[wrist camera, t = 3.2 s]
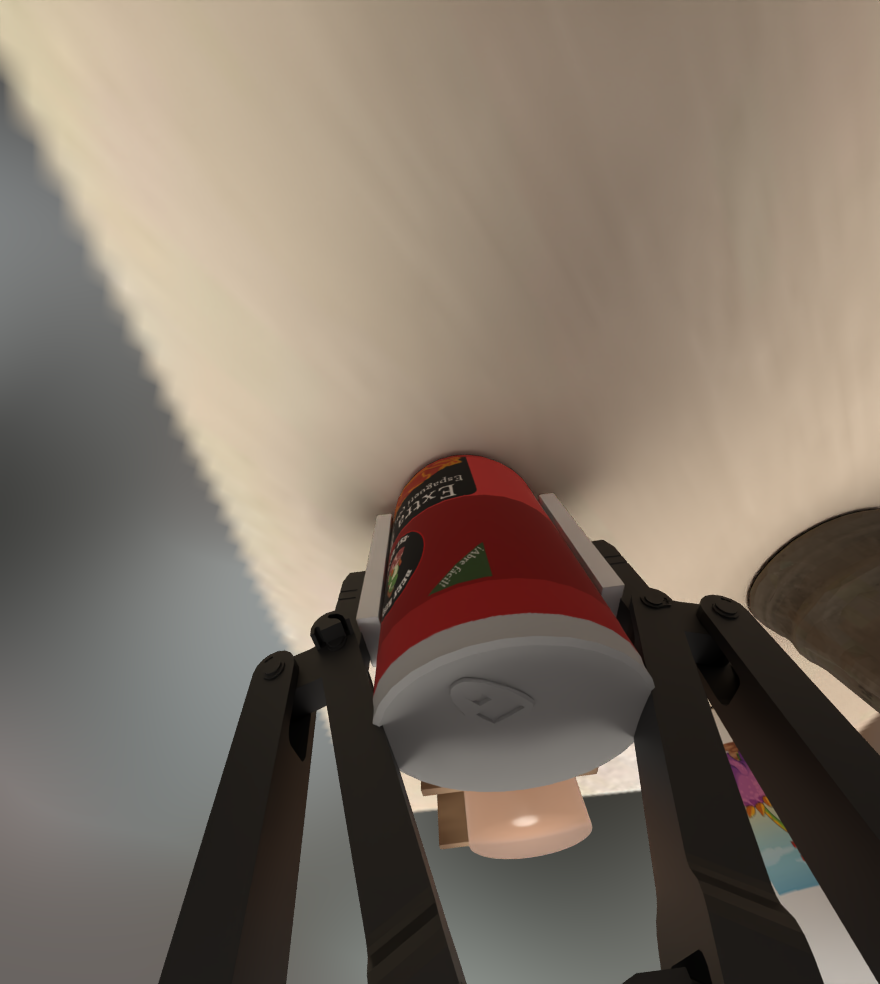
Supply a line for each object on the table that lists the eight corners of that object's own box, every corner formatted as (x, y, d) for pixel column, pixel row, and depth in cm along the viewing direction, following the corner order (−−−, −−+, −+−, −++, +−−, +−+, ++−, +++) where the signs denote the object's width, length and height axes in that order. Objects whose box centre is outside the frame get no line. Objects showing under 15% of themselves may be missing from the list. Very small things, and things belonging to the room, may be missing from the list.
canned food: (438, 422, 16) (472, 591, 6) (560, 491, 18) (726, 693, 8) (371, 534, 19) (320, 770, 9) (483, 581, 21) (540, 808, 11)
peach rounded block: (534, 629, 22) (599, 805, 14) (531, 681, 25) (584, 849, 17) (447, 641, 22) (464, 823, 14) (455, 690, 25) (473, 864, 17)
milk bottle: (720, 743, 34) (1036, 1187, 17) (651, 747, 34) (904, 1210, 16) (756, 702, 31) (1209, 1217, 13) (680, 707, 30) (1046, 1248, 13)
